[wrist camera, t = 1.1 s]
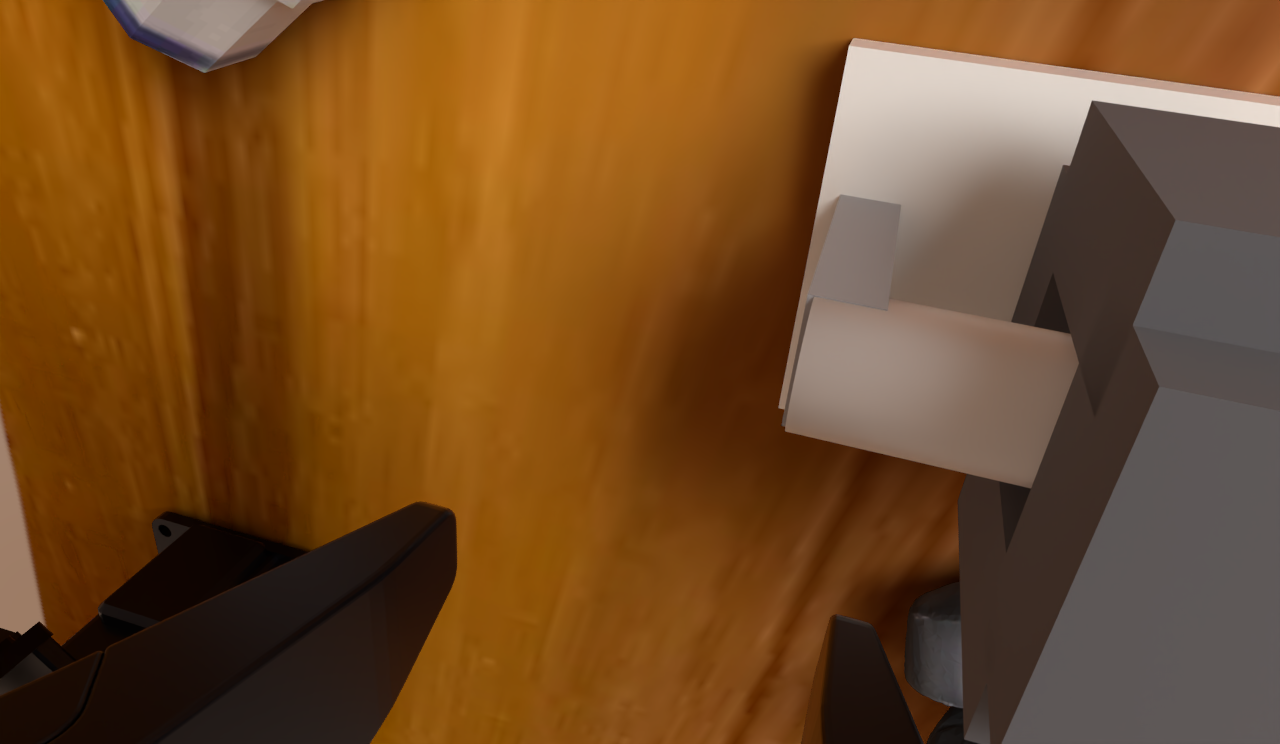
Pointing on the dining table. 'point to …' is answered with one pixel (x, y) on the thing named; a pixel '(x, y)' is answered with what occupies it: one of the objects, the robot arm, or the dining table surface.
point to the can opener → (938, 658)
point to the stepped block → (1142, 455)
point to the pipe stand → (948, 253)
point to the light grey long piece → (207, 27)
